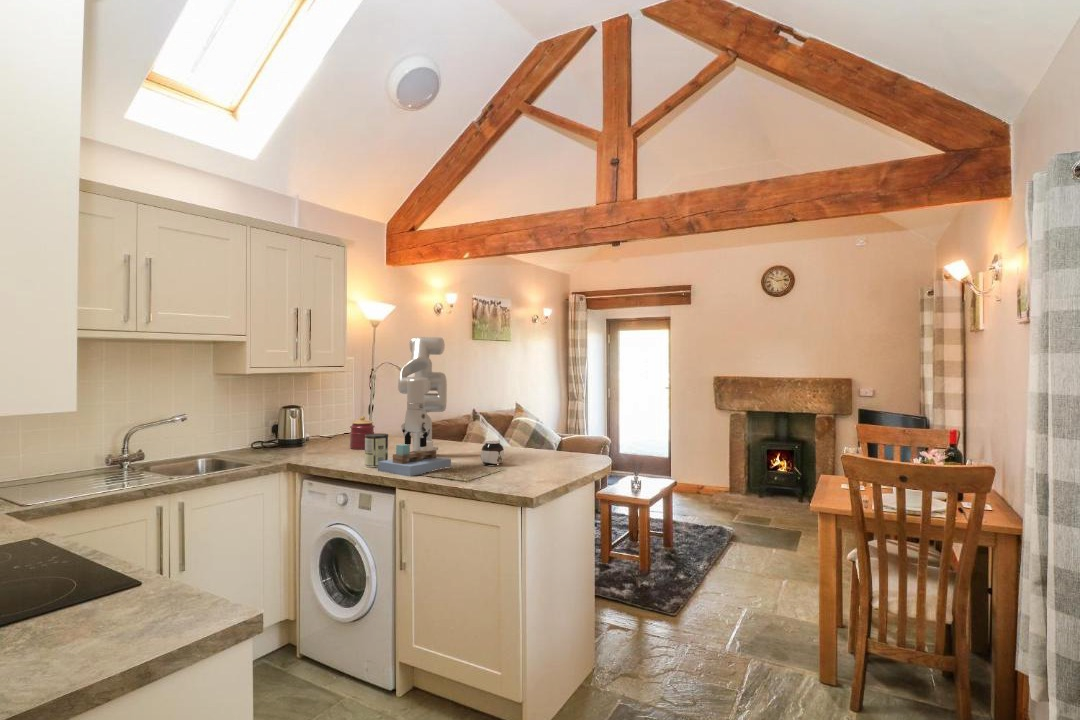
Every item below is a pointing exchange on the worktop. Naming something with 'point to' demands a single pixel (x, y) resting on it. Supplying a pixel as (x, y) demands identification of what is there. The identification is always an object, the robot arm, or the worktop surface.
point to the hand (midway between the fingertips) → (415, 445)
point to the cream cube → (427, 446)
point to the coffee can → (375, 449)
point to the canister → (360, 432)
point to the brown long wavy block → (414, 456)
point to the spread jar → (492, 452)
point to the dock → (413, 466)
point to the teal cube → (403, 449)
